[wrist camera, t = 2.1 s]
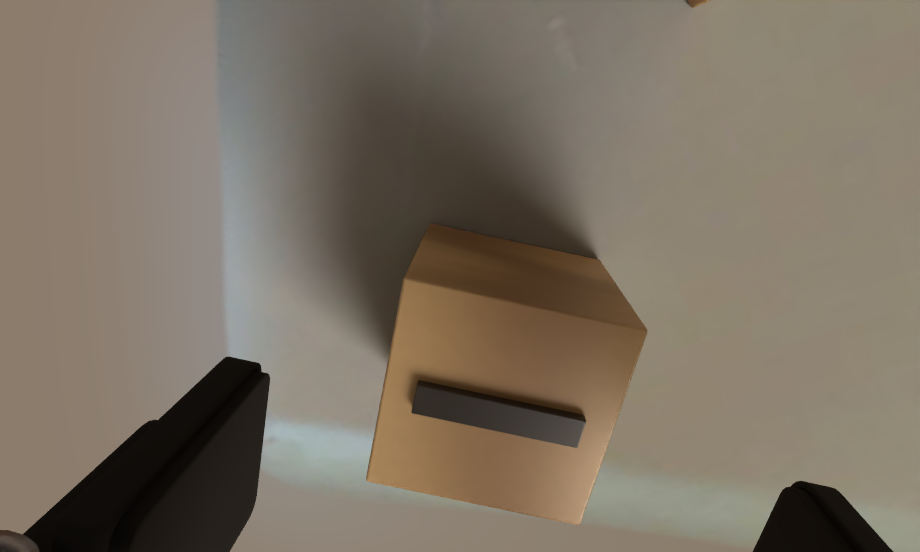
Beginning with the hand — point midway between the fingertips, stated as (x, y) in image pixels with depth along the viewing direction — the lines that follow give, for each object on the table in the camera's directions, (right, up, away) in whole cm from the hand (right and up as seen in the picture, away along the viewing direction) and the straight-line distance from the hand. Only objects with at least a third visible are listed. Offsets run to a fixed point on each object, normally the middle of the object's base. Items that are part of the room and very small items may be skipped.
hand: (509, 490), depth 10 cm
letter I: (0, +2, +7) cm, 7 cm away
